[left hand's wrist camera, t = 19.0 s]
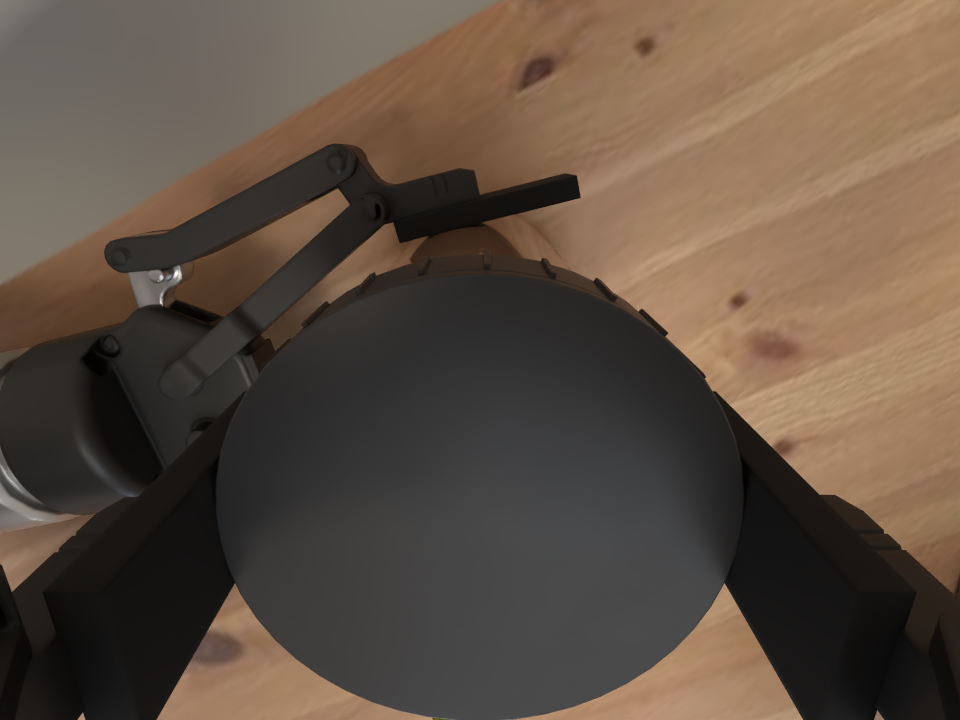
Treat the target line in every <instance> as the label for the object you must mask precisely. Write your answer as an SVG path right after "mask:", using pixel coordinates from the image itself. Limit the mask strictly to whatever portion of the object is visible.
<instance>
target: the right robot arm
mask: <svg viewBox="0 0 960 720" xmlns="http://www.w3.org/2000/svg"><path fill="white" fill-rule="evenodd" d="M338 188H339V190H340V191H341V193H342V194H343V195H344V197H345V198H346V200H347V201H348V202H349V204H350V206H348V207H347V208H346V209H345V210H344V211H343V212H342V213H341V214H340V215H339V216H338V217H336V218H335V219H334V220H333V221H332V222H331V223H330V224H329V225H328V226H327V227H325V228H324V229H323V230H322V231H321V232H320V233H319V234H318V235H317V236H316V237H314V238H313V239H312V240H311V241H310V242H309V243H308V244H307V245H306V246H305V247H303V248H302V249H301V250H300V251H299V252H298V253H297V254H296V255H295V256H294V257H292V258H291V259H290V260H289V261H288V262H287V263H286V264H285V265H284V266H283V267H281V268H280V269H279V270H278V271H277V272H276V273H275V274H274V275H273V276H272V277H270V278H269V279H268V280H267V281H266V282H265V283H264V284H263V285H262V286H261V287H259V288H258V289H257V290H256V291H255V292H254V293H253V294H252V295H251V296H250V297H248V298H247V299H246V300H245V301H244V302H243V303H242V304H241V305H240V306H238V307H237V308H236V309H235V310H233V311H232V312H231V313H230V314H228V315H227V316H226V317H223V316H220V315H217V314H215V313H212V312H209V311H206V310H204V309H201V308H198V307H196V306H193V305H190V304H187V303H185V302H182V301H179V300H176V299H175V290H176V288H177V286H178V285H179V284H181V283H183V282H185V281H188V280H189V279H190V278H191V277H192V275H193V271H194V269H193V268H194V262H193V260H196V259H198V258H201V257H204V256H207V255H209V254H212V253H214V252H217V251H219V250H221V249H223V248H225V247H227V246H229V245H231V244H233V243H235V242H237V241H239V240H240V239H242V238H244V237H246V236H248V235H250V234H252V233H254V232H256V231H258V230H260V229H261V228H263V227H265V226H267V225H269V224H271V223H273V222H275V221H277V220H279V219H281V218H282V217H284V216H286V215H288V214H290V213H292V212H294V211H296V210H298V209H300V208H302V207H303V206H305V205H307V204H309V203H311V202H313V201H315V200H317V199H319V198H321V197H323V196H324V195H326V194H328V193H330V192H332V191H334V190H336V189H338ZM578 198H581V197H580V191H579V186H578V180H577V176H576V175H571V174H566V173H565V174H561V175H557V176H553V177H549V178H545V179H541V180H537V181H534V182H530V183H526V184H522V185H518V186H514V187H510V188H506V189H502V190H498V191H494V192H490V193H486V194H483V195H480V193H479V189H478V184H477V180H476V176H475V172H474V170H469V169H462V168H459V169H455V170H451V171H447V172H443V173H439V174H436V175H432V176H428V177H424V178H420V179H416V180H413V181H409V182H405V183H401V184H390V183H387V182H385V181H384V180H382V179H381V178H380V177H379V176H378V175H377V173H376V172H375V171H374V169H373V168H372V166H371V165H370V163H369V162H368V160H367V157H366V154H365V153H364V152H363V150H362V149H360V148H359V147H357V146H353V145H345V144H331V145H328V146H326V147H324V148H322V149H320V150H318V151H317V152H315V153H313V154H311V155H309V156H307V157H305V158H304V159H302V160H300V161H298V162H296V163H294V164H292V165H291V166H289V167H287V168H285V169H283V170H281V171H279V172H278V173H276V174H274V175H272V176H270V177H268V178H266V179H265V180H263V181H261V182H259V183H257V184H255V185H254V186H252V187H250V188H248V189H246V190H244V191H242V192H241V193H239V194H237V195H235V196H233V197H231V198H229V199H228V200H226V201H224V202H222V203H220V204H218V205H216V206H215V207H213V208H211V209H209V210H207V211H205V212H203V213H202V214H200V215H198V216H196V217H194V218H192V219H190V220H189V221H187V222H185V223H183V224H181V225H179V226H177V227H176V228H174V229H170V230H160V231H152V232H147V233H143V234H139V235H134V236H130V237H125V238H121V239H117V240H113V241H110V242H109V243H108V244H107V245H106V247H105V251H104V254H105V259H106V261H107V263H108V264H109V265H110V266H111V267H112V268H113V269H114V270H116V271H118V272H122V273H128V276H129V279H130V282H131V285H132V288H133V291H134V294H135V298H136V301H137V304H138V307H139V308H138V309H137V310H136V311H134V312H133V313H132V314H131V315H130V317H129V318H128V319H127V320H126V321H125V322H123V323H119V324H114V325H110V326H106V327H102V328H98V329H94V330H90V331H86V332H82V333H78V334H74V335H70V336H66V337H62V338H58V339H54V340H50V341H46V342H43V343H40V344H38V345H36V346H34V347H22V348H18V349H14V350H10V351H6V352H2V353H0V534H2V533H7V532H12V531H17V530H22V529H27V528H32V527H37V526H42V525H47V524H52V523H57V522H62V521H67V520H71V519H73V518H76V517H78V516H81V515H90V514H96V513H98V512H100V511H101V510H103V509H105V508H107V507H108V506H110V505H112V504H114V503H115V502H117V501H119V500H121V499H122V498H124V497H138V496H139V495H140V494H141V493H142V492H143V491H144V490H145V489H146V488H148V487H149V486H150V485H151V484H152V483H153V482H154V481H155V480H156V479H157V478H158V477H159V476H160V475H161V474H162V473H163V472H164V471H165V470H166V469H167V468H168V467H169V466H170V465H171V464H172V463H173V462H174V461H175V460H176V459H177V458H178V457H179V456H180V455H181V454H182V453H183V452H184V451H185V450H186V449H187V448H188V447H189V446H190V445H191V444H192V443H193V442H194V441H195V440H196V439H197V438H198V437H199V436H200V435H201V434H202V433H203V432H204V431H205V430H206V429H207V428H208V427H209V426H210V425H211V424H212V423H213V422H214V421H215V420H216V419H217V418H218V417H219V416H220V415H221V414H222V413H223V412H224V411H225V410H226V409H227V408H228V407H229V406H230V405H231V404H232V403H233V402H234V401H235V400H236V399H237V398H238V397H239V396H240V395H241V394H242V393H243V392H244V391H247V390H248V389H249V387H250V386H251V385H252V383H253V382H254V381H255V379H256V378H257V376H258V375H259V374H260V372H261V371H262V370H263V369H262V368H261V366H262V364H263V363H264V362H265V361H266V360H267V359H268V358H269V357H270V356H271V355H272V354H273V353H274V352H275V350H274V348H273V345H272V343H271V340H270V338H269V339H265V340H264V338H263V337H262V336H261V335H260V334H261V333H262V332H264V331H265V330H266V329H267V328H268V327H269V326H270V325H272V324H273V323H274V322H275V321H276V320H277V319H278V318H279V317H281V316H282V315H283V314H284V313H285V312H286V311H287V310H288V309H289V308H290V307H292V306H293V305H294V304H295V303H296V302H297V301H298V300H300V299H301V298H302V297H303V296H304V295H305V294H306V293H307V292H309V291H310V290H311V289H312V288H313V287H314V286H315V285H317V284H318V283H319V282H320V281H321V280H322V279H323V278H324V277H326V276H327V275H328V274H329V273H330V272H331V271H332V270H333V269H335V268H336V267H337V266H338V265H339V264H340V263H341V262H343V261H344V260H345V259H346V258H347V257H348V256H349V255H350V254H352V253H353V252H354V251H355V250H356V249H357V248H358V247H360V246H361V245H362V244H363V243H364V242H365V241H366V240H367V239H369V238H370V237H371V236H372V235H373V234H374V233H375V232H377V231H378V230H379V229H380V228H381V227H382V226H383V225H384V224H388V223H392V222H394V226H395V229H396V233H397V236H398V239H399V243H403V242H407V241H411V240H415V239H419V238H423V237H427V236H431V235H435V234H439V233H443V232H447V231H450V230H455V229H459V228H463V227H466V226H470V225H474V224H478V223H482V222H486V221H490V220H494V219H498V218H502V217H506V216H510V215H514V214H518V213H522V212H526V211H530V210H534V209H538V208H542V207H546V206H550V205H554V204H558V203H562V202H566V201H570V200H574V199H578Z"/></svg>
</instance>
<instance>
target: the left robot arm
mask: <svg viewBox="0 0 960 720" xmlns="http://www.w3.org/2000/svg"><path fill="white" fill-rule="evenodd" d="M245 393H246V391H244V392H243V393H242V394H241V395H240V396H239V397H238V398H237V399H236V400H235V401H234V402H233V403H232V404H231V405H230V406H229V407H228V408H227V409H226V410H225V411H224V412H223V413H222V414H221V415H220V416H219V417H218V418H217V419H216V420H215V421H214V422H213V423H212V424H211V425H210V426H209V427H208V428H207V429H206V430H205V431H204V432H203V433H202V434H201V435H200V436H199V437H198V438H197V439H196V440H195V441H194V442H193V443H192V444H191V445H190V446H189V447H188V448H187V449H186V450H185V451H184V452H183V453H182V454H181V455H180V456H179V457H178V458H177V459H176V460H175V461H174V462H173V463H172V464H171V465H170V466H169V467H168V468H167V469H166V470H165V471H164V472H163V473H162V474H161V475H160V476H159V477H158V478H157V479H156V480H155V481H154V482H153V483H152V484H151V485H150V486H149V487H148V488H146V489H145V490H144V491H143V492H142V493H141V494H140V495H139V496H138V497H124V498H122V499H121V500H119V501H117V502H115V503H114V504H112V505H110V506H108V507H107V508H105V509H103V510H101V511H100V512H98V513H96V514H95V515H94V516H93V517H92V518H91V519H90V520H89V521H88V522H87V523H86V524H85V525H84V526H82V527H81V528H80V529H79V530H78V531H77V532H76V536H72V537H71V538H70V539H69V540H67V541H66V542H65V543H64V544H63V545H62V546H61V547H60V548H59V552H55V553H53V554H52V555H51V556H50V557H49V558H48V559H47V560H46V561H45V562H44V563H43V564H42V565H41V566H39V567H38V568H37V569H36V570H35V571H34V572H33V573H32V574H31V575H30V576H29V577H28V578H27V579H26V580H24V581H23V582H22V583H21V584H20V585H19V586H18V587H17V588H16V589H15V590H14V591H13V592H11V589H10V586H9V583H8V581H7V578H6V575H5V572H4V570H3V567H2V565H1V564H0V720H78V718H79V717H80V715H81V714H82V713H84V716H85V719H86V720H156V719H157V718H158V716H159V714H160V712H161V711H162V709H163V707H164V705H165V704H166V702H167V700H168V699H169V697H170V695H171V693H172V692H173V690H174V688H175V686H176V685H177V683H178V681H179V679H180V678H181V676H182V674H183V672H184V671H185V669H186V667H187V665H188V664H189V662H190V660H191V659H192V657H193V655H194V653H195V652H196V650H197V648H198V646H199V645H200V643H201V641H202V639H203V638H204V636H205V634H206V632H207V631H208V629H209V627H210V625H211V624H212V622H213V620H214V618H215V617H216V615H217V613H218V612H219V610H220V608H221V606H222V605H223V603H224V601H225V599H226V598H227V596H228V594H229V592H230V591H231V589H232V587H233V585H234V584H235V581H234V579H233V577H232V575H231V573H230V571H229V569H228V566H227V562H226V559H225V556H224V553H223V550H222V546H221V541H220V536H219V530H218V525H217V519H216V513H215V490H216V476H217V470H218V464H219V457H220V451H221V448H222V445H223V442H224V439H225V436H226V433H227V430H228V427H229V424H230V421H231V420H232V418H233V416H234V414H235V411H236V410H237V408H238V406H239V404H240V402H241V400H242V398H243V397H244V395H245ZM713 393H714V395H715V396H716V398H717V400H718V401H719V403H720V404H721V406H722V408H723V410H724V412H725V415H726V417H727V420H728V422H729V424H730V427H731V429H732V431H733V434H734V436H735V440H736V444H737V448H738V452H739V456H740V460H741V464H742V472H743V484H744V497H745V498H744V511H743V522H742V528H741V533H740V538H739V543H738V547H737V552H736V556H735V558H734V561H733V563H732V566H731V568H730V571H729V573H728V576H727V578H726V581H725V584H726V586H727V588H728V590H729V591H730V593H731V595H732V596H733V598H734V600H735V602H736V603H737V605H738V607H739V609H740V610H741V612H742V614H743V616H744V617H745V619H746V621H747V623H748V624H749V626H750V628H751V630H752V631H753V633H754V635H755V637H756V638H757V640H758V642H759V643H760V645H761V647H762V649H763V650H764V652H765V654H766V656H767V657H768V659H769V661H770V663H771V664H772V666H773V668H774V670H775V671H776V673H777V675H778V677H779V678H780V680H781V682H782V684H783V685H784V687H785V689H786V690H787V692H788V694H789V696H790V697H791V699H792V701H793V703H794V704H795V706H796V708H797V710H798V711H799V713H800V715H801V717H802V718H803V720H874V718H875V715H876V712H877V710H878V711H879V713H880V714H881V716H882V717H883V718H884V720H960V586H959V590H958V594H957V597H956V596H954V595H953V594H952V593H951V592H950V591H949V590H948V589H947V588H946V587H945V586H944V585H943V584H942V583H940V582H939V581H938V580H937V579H936V578H935V577H934V576H933V575H932V574H931V573H930V572H929V571H927V570H926V569H925V568H924V567H923V566H922V565H921V564H920V563H919V562H918V561H917V560H916V559H914V558H913V557H912V556H911V555H910V554H909V553H908V552H907V551H906V550H902V549H901V546H900V545H899V544H898V543H897V542H896V541H895V540H894V539H893V538H892V537H891V536H890V535H888V534H884V530H883V529H882V528H881V527H880V526H879V525H878V524H877V523H875V522H874V521H873V520H872V519H871V518H870V517H869V516H868V515H867V514H866V513H865V512H864V511H862V510H860V509H859V508H857V507H855V506H853V505H852V504H850V503H848V502H846V501H845V500H843V499H841V498H839V497H838V496H836V495H819V494H818V493H817V492H816V491H815V490H814V489H813V488H812V487H811V486H810V485H809V484H808V483H807V482H806V481H805V480H804V479H803V478H802V477H801V476H800V475H799V474H798V473H797V472H796V471H795V470H794V469H793V468H792V467H791V466H790V465H789V464H788V463H787V462H786V461H785V460H784V459H783V458H782V457H781V456H780V455H779V454H778V453H777V452H776V451H775V450H774V449H773V448H772V447H771V446H770V445H769V444H768V443H767V442H766V441H765V440H764V439H763V438H762V437H761V436H760V435H759V434H758V433H757V432H756V431H755V430H754V429H753V428H752V427H751V426H750V425H749V424H748V423H747V422H746V421H745V420H744V419H743V418H742V417H741V416H740V415H739V414H738V413H737V412H736V411H735V410H734V409H733V408H732V407H731V406H730V405H729V404H728V403H727V402H726V401H725V400H724V399H723V398H722V397H721V396H720V395H719V394H718V393H717V392H716V391H713Z"/></svg>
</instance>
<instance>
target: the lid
mask: <svg viewBox="0 0 960 720" xmlns="http://www.w3.org/2000/svg"><path fill="white" fill-rule="evenodd" d="M301 325H302V326H303V327H304V328H303V329H302V330H301V331H300V332H299V333H298V334H297V335H296V336H295V337H294V338H293V339H292V340H291V339H288V340H287V341H286V342H285V343H284V344H283V345H282V346H281V347H280V348H279V349H278V350H277V351H276V352H274V353H273V354H272V355H271V356H270V357H269V358H268V359H267V360H266V361H265V362H264V363H263V364H262V366H261V368H262V369H263V370H262V371H261V372H260V374H259V375H258V376H257V378H256V379H255V381H254V382H253V383H252V385H251V386H250V387H249V389H248V390H247V391H246V393H245V395H244V397H243V398H242V400H241V402H240V404H239V406H238V408H237V410H236V411H235V414H234V416H233V418H232V420H231V421H230V424H229V427H228V430H227V433H226V436H225V439H224V442H223V445H222V448H221V451H220V457H219V464H218V470H217V476H216V490H215V513H216V519H217V525H218V530H219V536H220V541H221V546H222V550H223V553H224V556H225V559H226V562H227V566H228V569H229V571H230V573H231V575H232V577H233V579H234V581H235V583H236V585H237V587H238V590H239V592H240V594H241V595H242V597H243V598H244V600H245V601H246V603H247V605H248V606H249V608H250V609H251V611H252V612H253V614H254V615H255V617H256V618H257V619H258V620H259V622H260V623H261V624H262V625H263V626H264V627H265V629H266V630H267V631H268V632H269V633H270V634H271V636H272V637H273V638H274V639H275V640H276V641H277V642H278V643H279V644H280V645H281V646H283V647H284V648H285V649H286V650H287V651H288V652H289V653H290V654H291V655H292V656H293V657H295V658H296V659H297V660H298V661H300V662H301V663H302V664H304V665H305V666H307V667H308V668H309V669H311V670H312V671H314V672H315V673H316V674H318V675H319V676H321V677H323V678H324V679H326V680H328V681H330V682H331V683H333V684H335V685H337V686H338V687H340V688H342V689H344V690H346V691H348V692H350V693H353V694H355V695H357V696H359V697H362V698H364V699H366V700H369V701H371V702H374V703H377V704H380V705H383V706H386V707H389V708H392V709H396V710H399V711H403V712H407V713H412V714H417V715H421V716H426V717H433V718H441V719H449V720H510V719H520V718H526V717H532V716H538V715H544V714H548V713H552V712H556V711H559V710H563V709H567V708H571V707H574V706H577V705H579V704H582V703H585V702H587V701H590V700H593V699H595V698H598V697H601V696H603V695H605V694H607V693H609V692H611V691H613V690H615V689H617V688H619V687H621V686H623V685H625V684H627V683H629V682H630V681H632V680H633V679H635V678H636V677H638V676H639V675H641V674H643V673H644V672H646V671H647V670H649V669H650V668H652V667H653V666H654V665H656V664H657V663H658V662H659V661H661V660H662V659H663V658H664V657H666V656H667V655H668V654H669V653H670V652H672V651H673V650H674V649H675V648H676V647H677V646H678V645H679V644H680V643H681V642H682V641H683V640H684V639H685V638H686V637H687V636H688V635H689V634H690V633H691V632H692V631H693V630H694V628H695V627H696V626H697V624H698V623H699V622H700V620H701V619H702V618H703V617H704V615H705V614H706V613H707V611H708V610H709V609H710V607H711V606H712V604H713V602H714V600H715V599H716V597H717V595H718V593H719V592H720V590H721V588H722V586H723V585H724V583H725V581H726V578H727V576H728V573H729V571H730V568H731V566H732V563H733V561H734V558H735V556H736V552H737V547H738V543H739V538H740V533H741V528H742V522H743V511H744V498H745V497H744V484H743V472H742V464H741V460H740V456H739V452H738V448H737V444H736V440H735V436H734V434H733V431H732V429H731V427H730V424H729V422H728V420H727V417H726V415H725V412H724V410H723V408H722V406H721V404H720V403H719V401H718V400H717V398H716V396H715V395H714V393H713V391H712V390H711V388H710V387H709V385H708V383H707V382H706V380H705V379H704V378H706V376H705V375H704V373H703V372H702V371H701V370H700V369H699V368H698V367H697V366H696V365H694V364H693V363H692V362H691V361H690V360H689V359H688V358H687V357H686V356H685V355H684V354H683V353H682V352H681V351H680V350H679V349H678V348H677V347H675V345H674V344H673V343H671V342H670V341H669V340H668V339H667V338H666V337H665V336H666V335H667V334H668V332H667V331H666V330H665V329H664V328H663V327H661V326H660V325H659V324H658V323H657V322H656V321H655V320H654V319H653V318H652V317H651V316H650V315H649V314H647V313H646V312H645V311H644V310H643V309H641V310H640V311H639V312H638V311H637V310H636V309H635V308H634V307H632V306H631V305H630V304H629V303H628V302H627V301H625V300H624V299H622V298H621V297H619V296H617V295H616V294H614V293H613V292H612V291H611V290H610V289H609V288H608V287H607V286H606V285H605V284H604V283H603V282H602V281H601V280H600V279H598V278H596V279H595V280H594V281H592V280H590V279H588V278H585V277H583V276H581V275H579V274H577V273H575V272H572V271H570V270H567V269H564V268H561V267H557V266H554V265H551V264H550V262H549V261H548V259H546V258H542V259H541V261H537V260H531V259H525V258H519V257H513V256H507V255H489V250H483V254H467V255H457V256H446V257H437V258H433V259H431V257H430V255H427V256H424V258H423V260H422V261H420V262H416V263H412V264H407V265H404V266H401V267H399V268H396V269H393V270H391V271H388V272H386V273H383V274H380V275H378V276H376V274H375V272H374V273H372V274H370V275H369V276H368V277H367V278H366V279H365V280H364V281H363V282H362V284H360V285H358V286H357V287H355V288H353V289H351V290H349V291H347V292H346V293H344V294H343V295H342V296H340V297H339V298H338V299H336V300H335V301H334V302H332V303H331V304H329V303H328V302H327V301H326V302H325V303H324V304H322V305H321V306H320V307H319V308H318V309H317V310H316V311H315V312H314V313H313V314H312V315H311V316H310V317H309V318H307V319H306V320H305V321H304V322H303V323H302V324H301Z"/></svg>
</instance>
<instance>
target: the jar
mask: <svg viewBox="0 0 960 720" xmlns="http://www.w3.org/2000/svg"><path fill="white" fill-rule="evenodd" d="M483 250H489V255H507V256H513V257H519V258H525V259H531V260H537V261H541V259H542V258H546V259H548V261H549V262H550V264H551V265H554V266H557V267H561V268H564V269H567V270H570V269H569V268H568V266H567V265H566V264H565V263H564V261H563V260H562V259H561V258H560V256H559V255H558V254H557V253H556V251H555V250H554V249H553V248H552V246H551V245H550V244H549V243H548V241H547V240H546V239H545V238H544V237H543V235H542V234H541V233H540V232H539V231H538V230H537V229H536V228H534V227H533V226H532V225H530V224H529V223H528V222H526V221H525V220H523V219H521V218H519V217H518V216H516V215H510V216H506V217H502V218H498V219H494V220H490V221H486V222H482V223H478V224H474V225H470V226H466V227H463V228H459V229H455V230H450V231H447V232H443V233H439V234H435V235H431V236H427V237H423V238H419V239H415V240H412V241H411V243H410V244H409V245H408V246H407V248H406V249H405V250H404V251H403V253H402V254H401V255H400V256H399V258H398V259H397V260H396V261H395V262H394V264H393V265H392V266H391V267H390V269H389V270H388V271H391V270H393V269H396V268H399V267H401V266H404V265H407V264H412V263H416V262H420V261H422V260H423V258H424V256H427V255H430V257H431V259H433V258H437V257H446V256H457V255H467V254H483ZM388 271H387V272H388ZM570 271H571V270H570Z"/></svg>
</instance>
